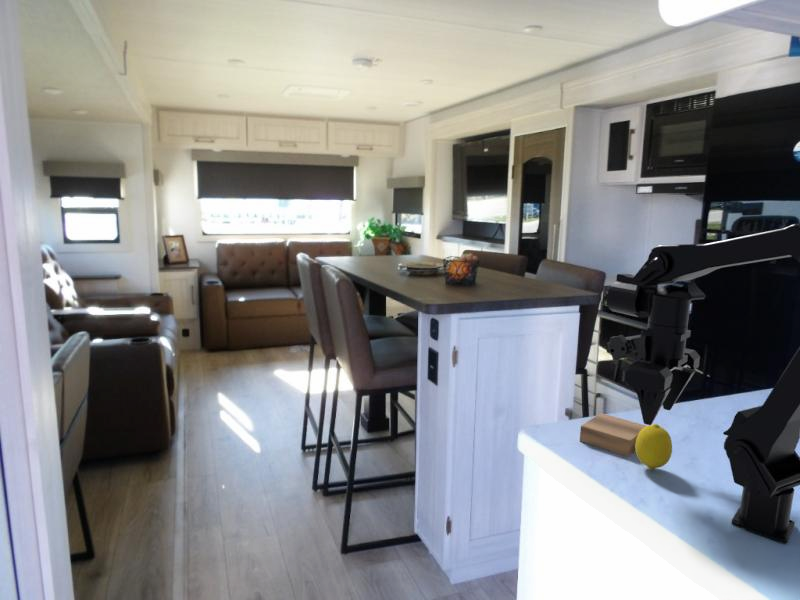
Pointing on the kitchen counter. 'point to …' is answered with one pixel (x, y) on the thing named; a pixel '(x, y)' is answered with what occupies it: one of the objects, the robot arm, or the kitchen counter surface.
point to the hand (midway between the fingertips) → (657, 416)
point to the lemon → (653, 446)
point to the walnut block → (611, 433)
